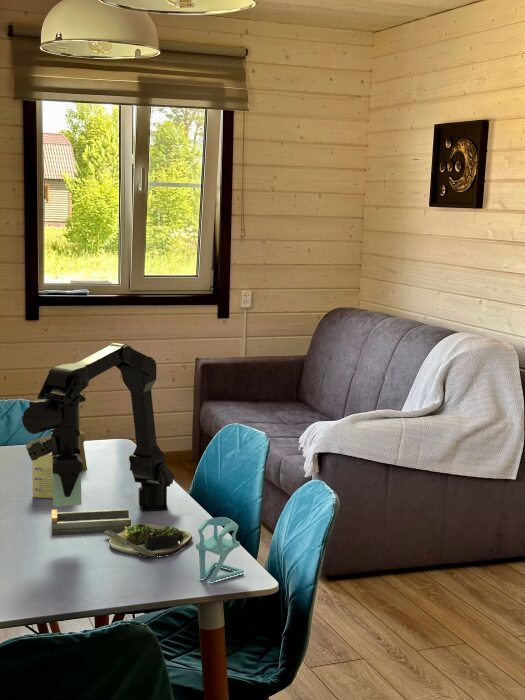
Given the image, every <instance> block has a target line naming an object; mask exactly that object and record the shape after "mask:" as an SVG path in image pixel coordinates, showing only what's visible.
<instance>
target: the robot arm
mask: <svg viewBox="0 0 525 700" xmlns="http://www.w3.org/2000/svg"><path fill="white" fill-rule="evenodd" d="M114 367H115V368H116V369H118V370H119V371H120V375H121V378H122V382H123V384H124V385H125V386H126V388H127V389H128V391H129V392H130V399H131V400H130V401H131V410H132V417H133V427H134V436H135V443H136V445H135V446H136V447H135V449H134V451H133V453H132V454H130V455H129V457H128V461H129V470H130V471H131V474H132V476H133V480H134V483H140V487H138V491H137V492H138V507H140V509H141V511H142V512H145V511H167V510H168V509H169V506H168V499H167V498H168V488H169V487H170V486H171V485H173V483H174V477H175V475H174V473H173V472H172V471H171V470H170V468H169V467H168V466H167V462H166V458H165V457H166V456H165V454H164V453H163V452H162V450H161V448H160V447H159V445H158V443H157V436H156V433H157V432H156V426H155V425H156V424H155V415H154V407H153V406H154V405H153V396H152V395H153V394H152V388H153V387H154V385H155V383H156V381H157V361H156V360H155V359H154V358H153V357H152V356H148V355H146V354H144V353H142V352H140V351H137V350H135V349H134V348H133V347H132V346H130V345H128V344H126V343H119V342H112V343H109V344H108V345H107V347H104V348H103V349H101V350H99V351H97V352H94V353H92V354H91V355H89V356H87V357H85V358H83V359H82V360H80V361H77V362H73V363H63V364H61V365H60V364H59V365H56V366H53V367H52V368H51V369H49V371H48V374H47V376H46V378H45V380H44V382H43V384H42V387H41V389H40V391H39V393H38V395H37V400H31V401H29V403H28V404H29V405H28V406H29V407H26V408H25V410H24V411H23V413H22V417H21V419H22V420H21V421H22V424H23V427H24V429H25V431H27V432H28V433H30V434H32V435H36V434H40V433H43V432H47V431H51V432H50V434H47V435H43V436H41V437H39V438H38V437H37V438H35V439H34V440H31V441H28V442H27V443H26V444H25V449H26V451H27V453H28V454H27V455H28V456H29V459H30V460H31V462H32V461H34V460H37V459H38V458H39V457H42V456H44V455H47V454H49V453H51V452H52V456H53V460H52V468H53V474H58V475H59V476H60V478H61V482H62V486H63V491H64V495H65V497H70V495H71V493H72V490H73V488H74V486H75V483H76V481H77V479H78V476H79V474H80V473H81V474H82V473H83V472H84V471H83V465H82V459H81V458H80V456H79V455H75V454H80V431H81V429H80V403H84V402H86V401H87V398H86V397H85V396H84V395H82V394H81V393H82V392H83V391H84V390H85V389H86V388H87V387H89V383H90V381H91V380H92V379H94V378H96V377H98V376H100V375H101V374H103V373H105V372H107V371H109V370H110V369H113V368H114Z"/></svg>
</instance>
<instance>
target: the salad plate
mask: <svg viewBox="0 0 525 700" xmlns="http://www.w3.org/2000/svg"><path fill="white" fill-rule="evenodd" d="M103 533H104V534H105V536H106V537H108V538H109V540H108V544H109V545H110V546H111V548H112V549H114V550H116V551H119V552H121V553H124V552H125V553H126V554H129V553H131V554H130V555H134V554H136V555H135V556H138V555H141V556H140V557H143V556H146V557H145V558H148V557H157V556H158V557H159V556H166V555H171V554H173V555H175V554H177V553H179V552H181V551H182V550H183V549H182V548H184V547H185V546H186V547H188V546H189V544H190V543H191V542H192V540H193V535H192V533H191V532H189V531H188V530H186V529H182V528H177V527H175V526H168V525H167V526H161V525H156V524H152V523H151V524H150V523H138V522H137V523H135V524H134V525H131V526H130V527H129V528H127V527H126V526H125V530H124V531H120V532H119V533H116V532H113V531H111V530H107V531H105V532H103ZM150 533H153V534H150ZM178 541H180V544H178ZM187 545H188V546H187ZM186 547H185V548H186ZM185 548H184V549H185ZM181 549H182V550H181ZM180 550H181V551H180ZM178 551H179V552H178ZM176 552H177V553H176ZM174 553H175V554H174ZM171 556H172V555H171Z"/></svg>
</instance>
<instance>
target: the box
mask: <svg viewBox="0 0 525 700" xmlns="http://www.w3.org/2000/svg"><path fill="white" fill-rule="evenodd" d="M75 455H78V454H75ZM52 460H53V456H52V452H51V453H49V454H47V455H44V456H42V457H39V458H38V459H37V460H34V461H32V460H31V463H32V466H31V468H32V469H31V470H32V475H31V476H32V477H31V478H32V498H44V499H53V468H52Z"/></svg>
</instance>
